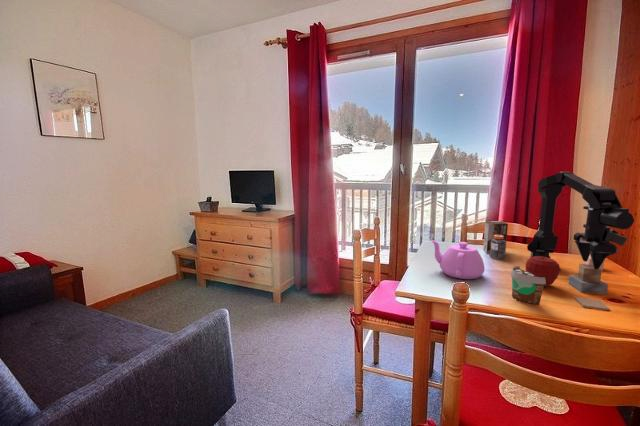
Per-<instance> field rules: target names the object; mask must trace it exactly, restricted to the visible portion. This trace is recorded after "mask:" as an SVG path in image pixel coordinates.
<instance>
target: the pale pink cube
mask: <svg viewBox="0 0 640 426" xmlns="http://www.w3.org/2000/svg"><path fill="white" fill-rule="evenodd" d="M583 264H587V265H593V263H592V259H591V255H589V258H588V260H587V261H583ZM604 264H605V260H604V261H603V263H602V264H601V266H600V269H602V272H603V271H604Z"/></svg>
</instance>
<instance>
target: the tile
mask: <svg viewBox="0 0 640 426" xmlns="http://www.w3.org/2000/svg"><path fill="white" fill-rule="evenodd" d="M573 298H574V300H575V301H576V302H577V303H578V304H579V305H580V306H581V307H582V308H585V307H586V308H588V309H594V310H600V311H601V310H602V311H611V308H610V307H609V306H607V305H606V304H605V303H604V302H603V301H602V300H600V299H596V298H589V297H588V298H587V297H581V296H574V297H573Z"/></svg>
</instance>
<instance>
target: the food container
mask: <svg viewBox="0 0 640 426" xmlns="http://www.w3.org/2000/svg"><path fill="white" fill-rule="evenodd" d="M520 267H521V266H520V265H515V266H513V267H512V268H511V271H510V273H509V275H510V276H511V296H512V298H513V300H515V299H516V300H515V301H517V302H519V301H520V302H519V303H522V304H524V305H525V304H526V305H530V306H540V304H541V299H542V295H543V290H544V287H545V286H544V284H546V280H545V278H540V277H537V276H535V275H534V274H532V273H530V272H527V271H526V270H524V269H522V268H520ZM543 286H544V287H543Z"/></svg>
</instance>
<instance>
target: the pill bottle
mask: <svg viewBox="0 0 640 426" xmlns="http://www.w3.org/2000/svg"><path fill="white" fill-rule="evenodd" d="M503 239H504V236H502V235H494V239H492V241H491V253H489V254H490V255H489V257H490V258H492V259H494V260H503V259H504V258H505V254H504V252H505V241H504V240H503Z"/></svg>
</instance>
